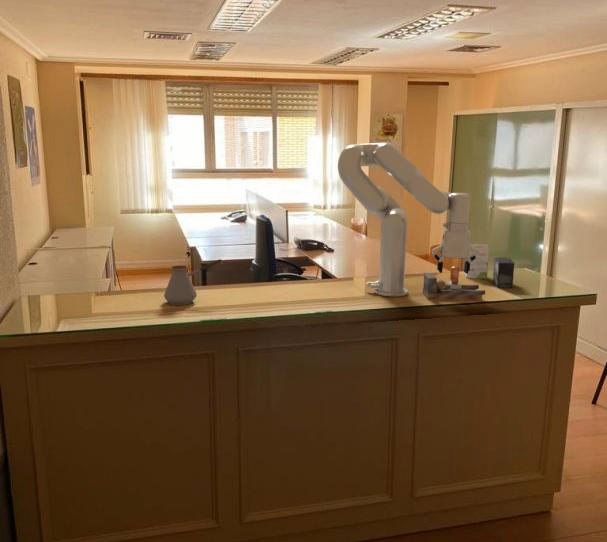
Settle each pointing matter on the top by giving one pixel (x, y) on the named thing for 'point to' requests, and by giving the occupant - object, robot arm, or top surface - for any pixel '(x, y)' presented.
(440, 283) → the walnut
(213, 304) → the top surface
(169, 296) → the coffee pot
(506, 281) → the small box
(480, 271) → the ink box
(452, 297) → the press bench
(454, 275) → the ram
